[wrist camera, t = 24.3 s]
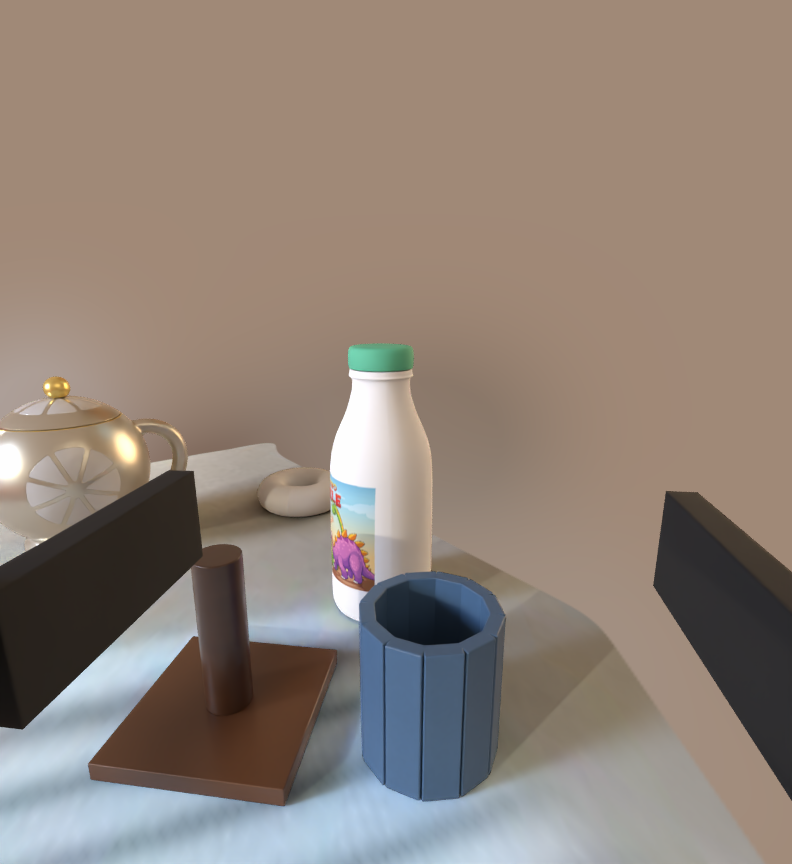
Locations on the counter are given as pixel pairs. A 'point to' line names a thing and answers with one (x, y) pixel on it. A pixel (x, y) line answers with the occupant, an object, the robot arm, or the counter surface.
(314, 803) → the counter surface
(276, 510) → the donut
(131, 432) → the teapot
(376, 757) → the ring sleeve
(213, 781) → the post stand
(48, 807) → the counter surface
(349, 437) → the milk bottle
